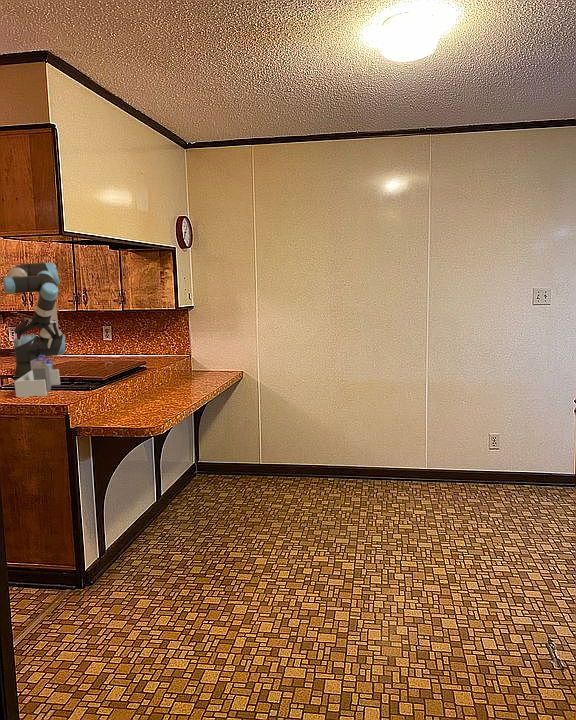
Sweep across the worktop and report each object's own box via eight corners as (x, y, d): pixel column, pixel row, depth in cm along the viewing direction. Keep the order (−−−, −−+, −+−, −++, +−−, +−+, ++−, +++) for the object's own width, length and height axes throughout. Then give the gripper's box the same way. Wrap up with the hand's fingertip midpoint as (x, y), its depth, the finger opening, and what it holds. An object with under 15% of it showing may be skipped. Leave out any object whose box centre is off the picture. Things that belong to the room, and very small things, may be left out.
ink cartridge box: (54, 380, 338) (51, 354, 335) (48, 383, 332) (45, 356, 329) (38, 380, 340) (35, 354, 337) (32, 383, 334) (28, 356, 331)
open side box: (32, 385, 328) (30, 370, 326) (60, 384, 329) (58, 369, 327) (16, 397, 304) (14, 381, 303) (46, 396, 305) (44, 380, 304)
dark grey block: (39, 389, 319) (36, 366, 317) (51, 388, 320) (48, 365, 317) (35, 392, 314) (32, 368, 311) (47, 391, 314) (45, 368, 312)
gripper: (15, 314, 285) (6, 347, 297) (71, 321, 299) (61, 352, 310) (14, 303, 290) (6, 337, 302) (69, 310, 303) (59, 342, 315)
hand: (34, 345), depth 306 cm, fingers open, 13 cm apart
